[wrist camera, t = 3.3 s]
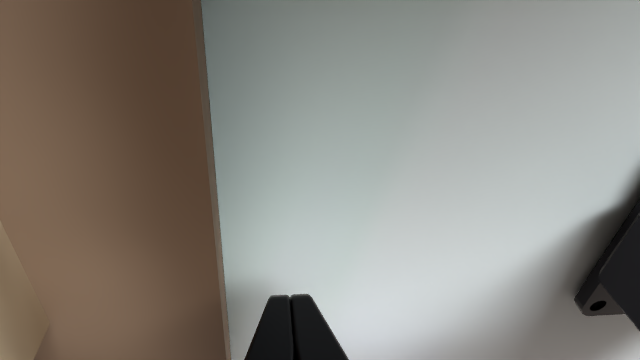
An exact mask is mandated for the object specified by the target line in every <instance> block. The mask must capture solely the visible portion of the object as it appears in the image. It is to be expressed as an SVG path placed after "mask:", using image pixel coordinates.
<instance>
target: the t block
mask: <svg viewBox="0 0 640 360" xmlns="http://www.w3.org/2000/svg"><path fill="white" fill-rule="evenodd" d="M49 325H50V322H49V320H48V318H47V316H46V314H45V312H44V310H43V308H42V305H41V303H40V301H39V299H38V297H37V295H36V293H35V291H34V289H33V287H32V285H31V283H30V281H29V279H28V277H27V275H26V273H25V271H24V269H23V266H22V264H21V262H20V260H19V258H18V256H17V254H16V252H15V250H14V248H13V246H12V244H11V242H10V240H9V238H8V236H7V234H6V232H5V230H4V228H3V225H2V223H1V221H0V360H34V357H35V355H36V353H37V351H38V349H39V346H40V344H41V342H42V340H43V338H44V336H45V333H46V331H47V329H48V327H49Z"/></svg>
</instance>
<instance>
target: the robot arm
mask: <svg viewBox="0 0 640 360" xmlns="http://www.w3.org/2000/svg"><path fill="white" fill-rule="evenodd" d="M574 301H575V304H576V305H577V306H578V308H579V309H580V311H581V312H582V313H583V314H584V315H587V316H597V315H615V314H626V315H627V316H628V318H629V319H630V320H631V321H632V323H633V324H634V325H635V326H636V327H637V329H638V330H639V331H640V200H639V201H638V203H637V204H636V206H635V207H634V209H633V210H632V212H631V213H630V215H629V216H628V218H627V219H626V221H625V222H624V224H623V225H622V227H621V228H620V230H619V231H618V233H617V234H616V236H615V237H614V239H613V240H612V242H611V243H610V245H609V246H608V248H607V249H606V251H605V252H604V254H603V255H602V257H601V258H600V260H599V261H598V263H597V265H596V266H595V268H594V269H593V271H592V272H591V274H590V275H589V277H588V278H587V280H586V281H585V283H584V284H583V286H582V287H581V289H580V290H579V292H578V293H577V295H576V296H575V299H574ZM244 360H349V359H348V357H347V356H346V354H345V352H344V351H343V349H342V347H341V346H340V344H339V342H338V341H337V339H336V337H335V336H334V334H333V332H332V330H331V329H330V327H329V325H328V324H327V322H326V320H325V319H324V317H323V315H322V314H321V312H320V310H319V309H318V307H317V305H316V304H315V302H314V300H313V299H312V297H311V296H310V295H309V294H294V295H291V297H289V296H288V295H272V296H270V297H269V299H268V301H267V304H266V306H265V309H264V311H263V314H262V316H261V319H260V321H259V324H258V327H257V329H256V332H255V334H254V337H253V339H252V342H251V344H250V347H249V349H248V352H247V354H246V357H245V359H244Z"/></svg>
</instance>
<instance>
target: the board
mask: <svg viewBox="0 0 640 360" xmlns="http://www.w3.org/2000/svg"><path fill="white" fill-rule="evenodd" d="M0 221H1V223H2V225H3V228H4V230H5V232H6V234H7V236H8V238H9V240H10V242H11V244H12V246H13V248H14V250H15V252H16V254H17V256H18V258H19V260H20V262H21V264H22V266H23V269H24V271H25V273H26V275H27V277H28V279H29V281H30V283H31V285H32V287H33V289H34V291H35V293H36V295H37V297H38V299H39V301H40V303H41V305H42V308H43V310H44V312H45V314H46V316H47V318H48V320H49V322H50V325H49V327H48V329H47V331H46V333H45V336H44V338H43V340H42V342H41V344H40V346H39V349H38V351H37V353H36V355H35V357H34V360H231V352H230V340H229V328H228V316H227V305H226V293H225V281H224V269H223V257H222V245H221V234H220V222H219V210H218V198H217V186H216V174H215V162H214V151H213V139H212V127H211V115H210V103H209V91H208V79H207V68H206V56H205V44H204V32H203V20H202V8H201V0H0Z"/></svg>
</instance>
